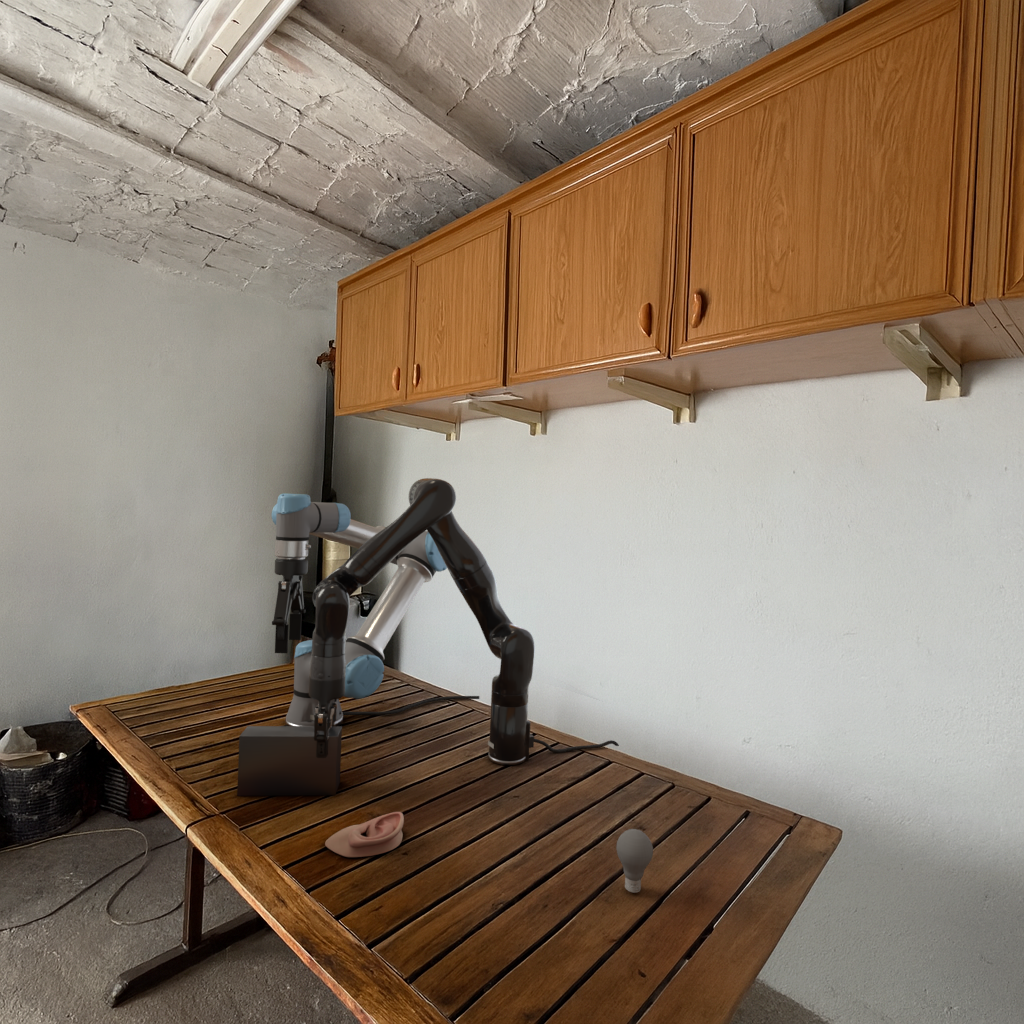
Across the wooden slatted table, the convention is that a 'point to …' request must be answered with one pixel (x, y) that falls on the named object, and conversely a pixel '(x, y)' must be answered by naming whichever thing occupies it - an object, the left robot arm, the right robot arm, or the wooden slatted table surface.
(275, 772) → the box
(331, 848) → the anatomical model
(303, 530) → the left robot arm
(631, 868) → the light bulb
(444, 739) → the wooden slatted table surface
